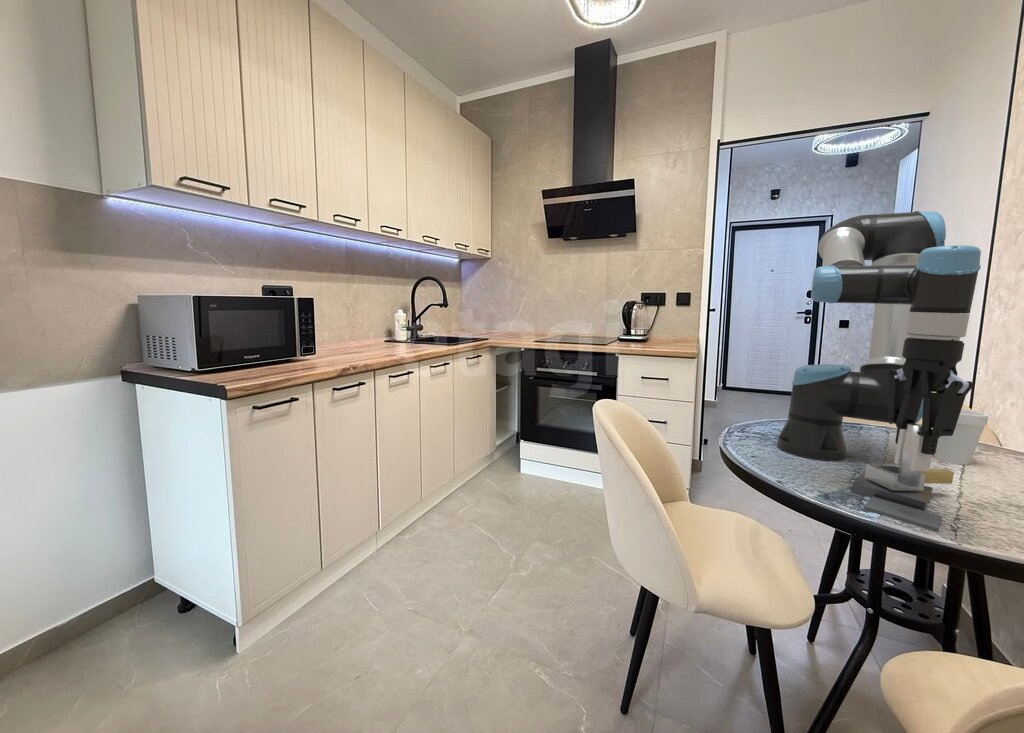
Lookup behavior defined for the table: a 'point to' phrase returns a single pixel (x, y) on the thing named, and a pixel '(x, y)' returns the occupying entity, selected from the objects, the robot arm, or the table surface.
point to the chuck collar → (889, 473)
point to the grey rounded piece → (962, 438)
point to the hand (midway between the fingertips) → (911, 466)
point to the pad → (904, 513)
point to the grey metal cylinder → (909, 457)
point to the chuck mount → (892, 493)
